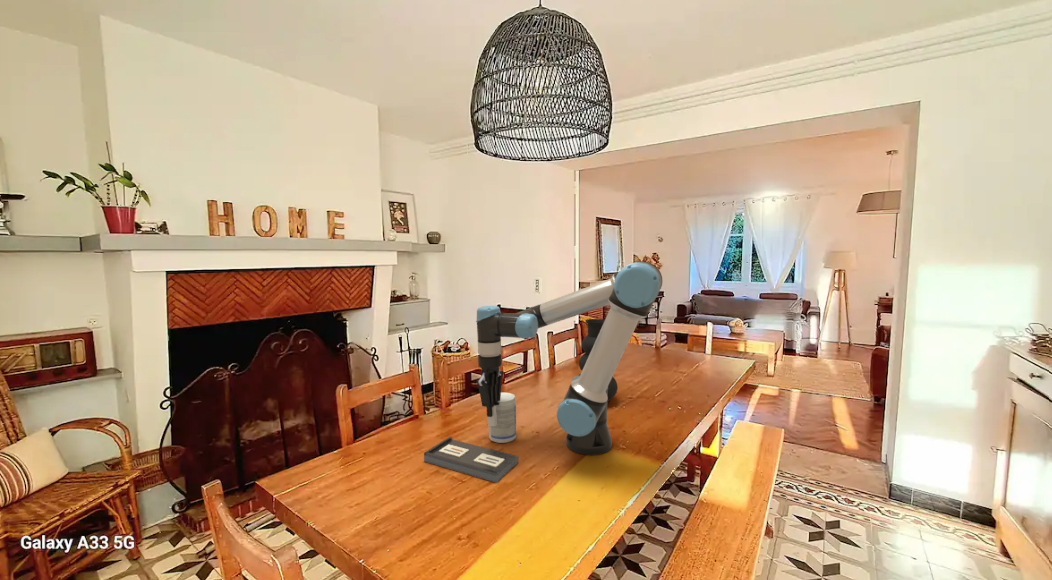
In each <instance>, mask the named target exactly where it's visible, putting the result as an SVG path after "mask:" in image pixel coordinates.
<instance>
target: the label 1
mask: <svg viewBox="0 0 1052 580" xmlns="http://www.w3.org/2000/svg"><path fill="white" fill-rule="evenodd" d="M468 451H469V450H468V449H465V448H461V447H457V446H453V445H449V444H448V445H447V446H445V447H444V448H442V449H441V450H439V452H442V453H445V454H449V455H452V456H456V457H461V456H462V455H464V454H465V453H467V452H468Z"/></svg>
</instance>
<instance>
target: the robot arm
mask: <svg viewBox="0 0 1052 580" xmlns="http://www.w3.org/2000/svg"><path fill="white" fill-rule="evenodd" d="M662 286H663V275H662V272H661V271H660V270H659V268H658V267H657V265H655V264H653V263H651V262H649V261H636V262H631V263H628V264H627V265H624V267H622V268H620V270H619V271H618V272H616V273H613V275H612V276H611V278H608V279H606V280H603V281H600V282H598V283H594V284H592V285H589V286H586V287H584V288H581V289H578V290H576V291H572V292H569V293H567V294H564V295H561V296H559V297H557V298H553V299H550V300H547V301H545V302H542V303H540V304H537V305H534V306H530V307H528V308H526V309H523V310H522V311H518V312H515V313H514V312H513V313H511V312H510V313H507V312H506V313H504V312H501V308H500V307H499V306H497V305H483V306H480V307H478V308H477V309H476V321H475V322H476V332H477V333H476V334H477V353H478V356H477V363H478V367H479V368H480V369H481V372H480V376H481V377H480V378H479V379H477V380H476V384H477V386H478V390H479V396H480V401H481V406H482V407H484V408H486V420H487V421H486V423H487V426H488V425H489V426H496V425H497V414H496V412H497V409H496V405H499V402H498V401H500V397H501V393H502V385H503V383H502V382H503V377H504V371H503V370H501V369H500V367H501V366H502V364H503V363H502V360H503V359H502V354H501V353H502V338H518V339H533V338H535V337H536V335H537V333H538V330H539V329H540V328H544V327H547V326H550V325H553V324H555V323H557V322H561V321H564V320H567V319H570V318H574V317H576V316H579V315H582V314H584V313H585V314H586V313H588V312H591V311H594V310H597V309H600V308H603V307H606V306H610V309H609V311H608V313H607V315H606V317H605V319H604V320H605V321H604V324H603V326H602V328H601V330H600V333H599V335H598V337H597V339H596V341H595V344H594V346H593V348H592V350H591V353H590V355H589V357H588V359H587V361H586V364H585V366H584V368H583V370H581V373H580V374H581V375H580V376H578V375H576V376H574V377H573V378H571V379H572V380H571V383H570V385H569V386H568V389H567V391H566V393H565V396H564V398H563V400H562V401H561V402H560V403H559V404H558V405H557V406H558V407H557V410H556V420H557V421H558V422H557V423H558V424H559V427H560V428H561V429H562V430H563V431H564V432H566V437H565V445H566V446H567V448H568V449H569V450H571V451H573V452H574V453H577V454H580V455H581V454H582V455H588V456H589V455H590V456H594V455H595V456H596V455H597V456H598V455H603V454H606V453H608V452H609V451H611V449H612V446H613V445H612V444H613V439H612V435H611V432H610V430H609V426H608V425H609V424H608V403H607V400H608V397H607V391H608V385H609V383H610V381H611V379H612V377H614V374H615V372H616V370H617V368H618V366H619V364H620V362H621V359H622V357H623V355H624V353H625V350H626V349H627V347H628V344H629V342H630V340H631V338H632V336H633V334H634V331H635V330H636V327H637V326H638V323H639V321H640V320H643V319H645V318H648V315H649V313H650V311H651V309H652V307H653V305H654V303H655V301H656V298H657V297H658V296H659V293H660V292H661V291H660V290H661V289H662ZM497 396H498V397H497ZM489 426H488V427H489Z"/></svg>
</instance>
